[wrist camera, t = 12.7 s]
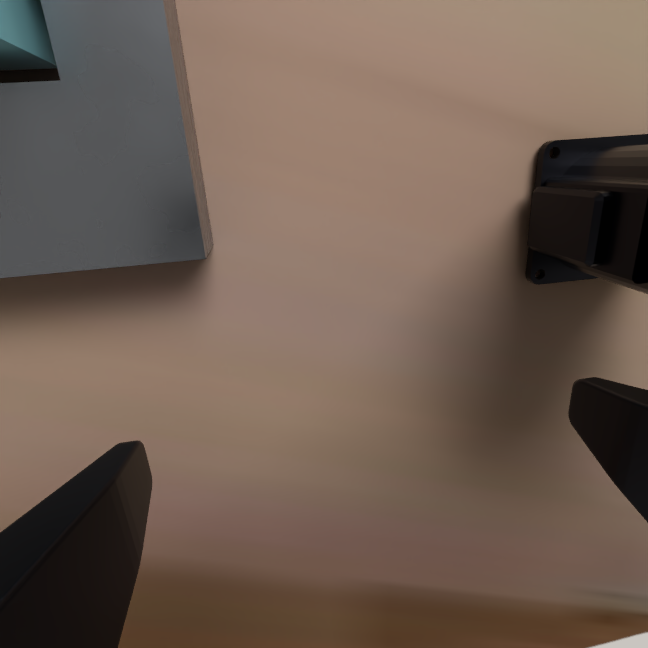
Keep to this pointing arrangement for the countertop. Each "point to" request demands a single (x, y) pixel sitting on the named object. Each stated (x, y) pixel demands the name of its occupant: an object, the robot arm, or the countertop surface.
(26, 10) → the clip
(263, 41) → the countertop surface
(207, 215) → the rail plate
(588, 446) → the robot arm
